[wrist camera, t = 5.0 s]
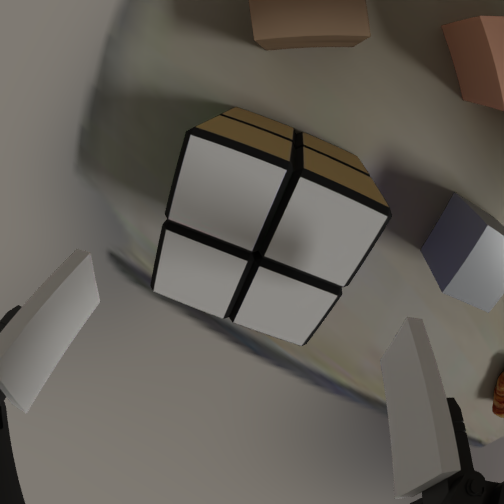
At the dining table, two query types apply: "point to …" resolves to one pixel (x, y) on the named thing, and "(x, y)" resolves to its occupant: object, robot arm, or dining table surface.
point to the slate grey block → (467, 254)
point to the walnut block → (309, 23)
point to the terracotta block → (478, 58)
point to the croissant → (499, 397)
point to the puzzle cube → (265, 225)
